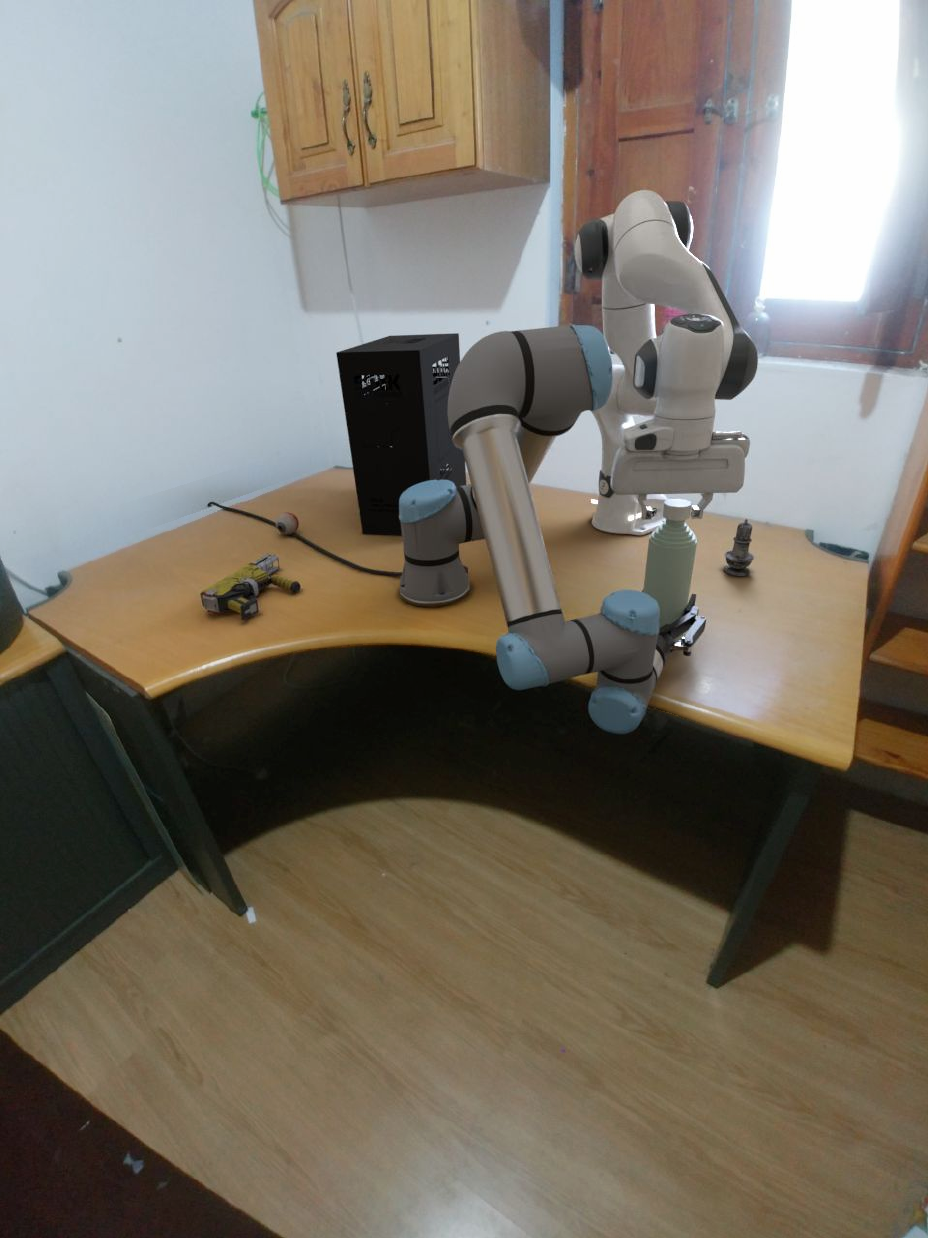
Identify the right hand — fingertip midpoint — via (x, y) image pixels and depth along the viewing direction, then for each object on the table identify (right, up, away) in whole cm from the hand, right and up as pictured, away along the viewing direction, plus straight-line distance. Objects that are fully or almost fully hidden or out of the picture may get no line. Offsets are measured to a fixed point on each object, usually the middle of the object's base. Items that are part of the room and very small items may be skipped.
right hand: (670, 518), depth 100 cm
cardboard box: (-48, +15, +77) cm, 91 cm away
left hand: (+4, -13, +12) cm, 18 cm away
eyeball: (-82, +6, +65) cm, 105 cm away
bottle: (+2, -20, +11) cm, 23 cm away
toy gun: (-79, -11, +35) cm, 87 cm away
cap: (+1, +2, -1) cm, 3 cm away
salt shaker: (+26, -6, +32) cm, 42 cm away
